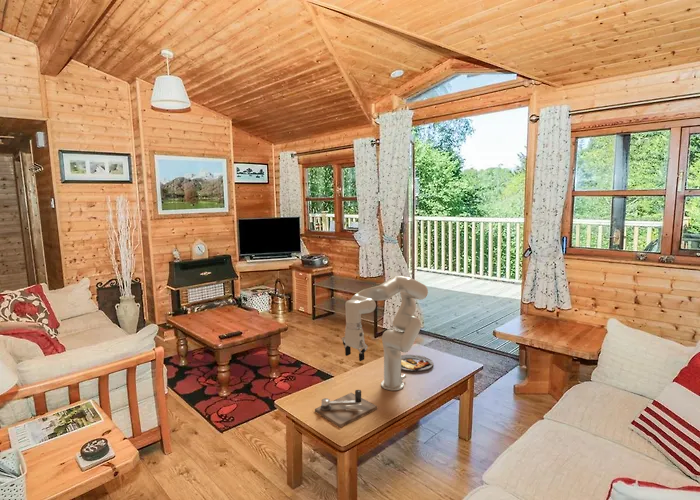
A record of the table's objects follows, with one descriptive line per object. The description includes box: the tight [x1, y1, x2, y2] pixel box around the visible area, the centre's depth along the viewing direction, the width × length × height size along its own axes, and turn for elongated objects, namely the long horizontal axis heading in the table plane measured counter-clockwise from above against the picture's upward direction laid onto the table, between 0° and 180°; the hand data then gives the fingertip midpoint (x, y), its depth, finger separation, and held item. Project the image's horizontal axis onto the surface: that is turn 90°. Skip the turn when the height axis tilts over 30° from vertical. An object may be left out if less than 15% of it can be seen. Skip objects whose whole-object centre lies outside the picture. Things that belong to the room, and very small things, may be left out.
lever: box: [321, 389, 362, 408], centre depth 198 cm, size 20×4×7 cm, turn 92°
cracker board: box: [314, 392, 378, 429], centre depth 199 cm, size 24×19×2 cm
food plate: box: [401, 354, 434, 372], centre depth 252 cm, size 25×23×4 cm
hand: (354, 357), depth 203 cm, fingers open, 9 cm apart
